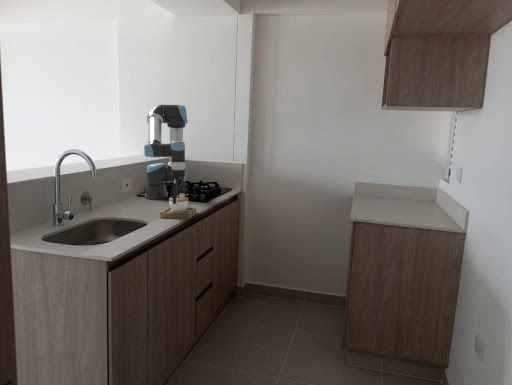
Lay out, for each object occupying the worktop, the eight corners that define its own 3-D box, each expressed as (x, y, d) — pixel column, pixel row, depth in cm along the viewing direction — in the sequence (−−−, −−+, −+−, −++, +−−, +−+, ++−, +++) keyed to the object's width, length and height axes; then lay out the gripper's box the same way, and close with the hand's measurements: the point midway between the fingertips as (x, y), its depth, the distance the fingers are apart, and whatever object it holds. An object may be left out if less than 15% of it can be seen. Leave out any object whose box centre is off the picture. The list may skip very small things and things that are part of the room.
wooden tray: (169, 211, 247) (169, 206, 247) (196, 212, 245) (196, 208, 245) (160, 217, 231) (160, 212, 231) (188, 219, 230) (188, 214, 229)
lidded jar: (173, 214, 231) (173, 197, 229) (166, 210, 240) (166, 194, 238) (191, 212, 236) (191, 196, 235) (184, 209, 245) (183, 193, 244)
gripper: (178, 166, 247) (178, 202, 250) (164, 171, 222) (165, 211, 226) (190, 167, 246) (191, 203, 249) (178, 172, 221) (178, 211, 225)
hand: (178, 207), depth 238 cm, fingers open, 13 cm apart
